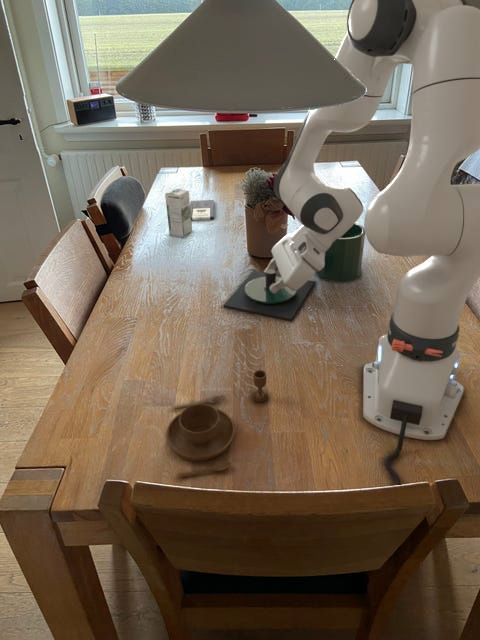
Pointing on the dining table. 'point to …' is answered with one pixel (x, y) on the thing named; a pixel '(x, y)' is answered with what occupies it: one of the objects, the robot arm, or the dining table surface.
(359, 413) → the dining table surface
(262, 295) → the lid
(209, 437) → the place setting
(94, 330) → the dining table surface
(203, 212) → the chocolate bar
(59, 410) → the dining table surface
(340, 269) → the green pot
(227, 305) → the trivet mat
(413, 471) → the dining table surface
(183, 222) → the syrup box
